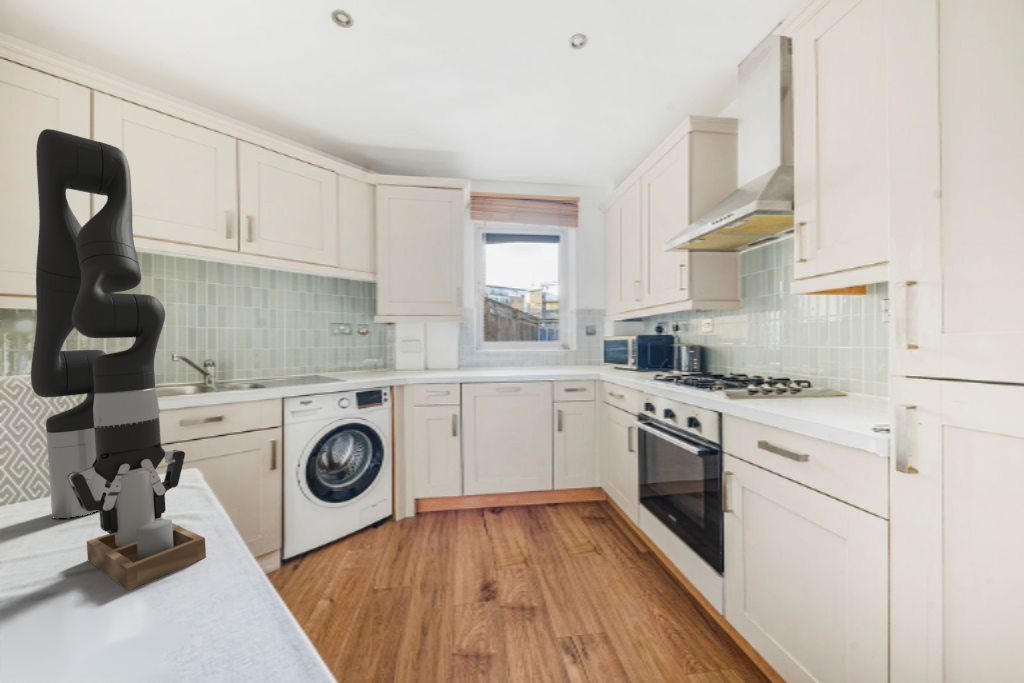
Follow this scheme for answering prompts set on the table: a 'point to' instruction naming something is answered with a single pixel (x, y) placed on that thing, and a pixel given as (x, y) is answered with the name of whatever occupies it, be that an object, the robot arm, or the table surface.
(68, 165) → the robot arm
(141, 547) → the stub
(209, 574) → the table surface
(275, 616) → the table surface
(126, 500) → the beverage can
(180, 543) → the rack
